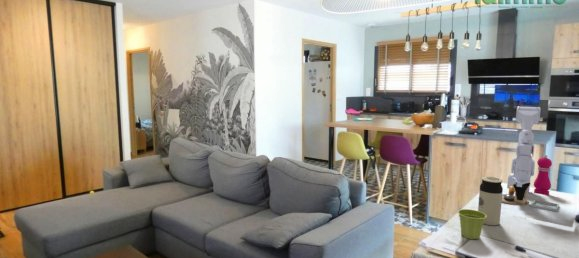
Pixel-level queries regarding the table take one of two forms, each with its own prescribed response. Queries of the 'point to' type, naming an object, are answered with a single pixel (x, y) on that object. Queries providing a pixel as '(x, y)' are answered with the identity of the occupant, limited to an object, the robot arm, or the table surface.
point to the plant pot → (471, 223)
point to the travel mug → (490, 199)
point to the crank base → (512, 201)
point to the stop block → (523, 198)
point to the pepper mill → (543, 176)
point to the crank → (510, 193)
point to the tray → (545, 207)
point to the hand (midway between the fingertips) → (520, 198)
